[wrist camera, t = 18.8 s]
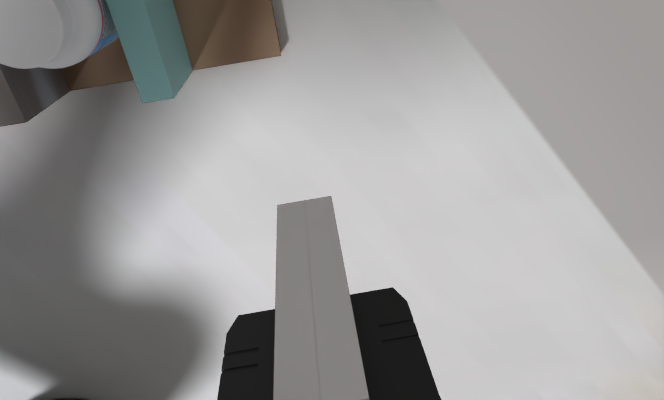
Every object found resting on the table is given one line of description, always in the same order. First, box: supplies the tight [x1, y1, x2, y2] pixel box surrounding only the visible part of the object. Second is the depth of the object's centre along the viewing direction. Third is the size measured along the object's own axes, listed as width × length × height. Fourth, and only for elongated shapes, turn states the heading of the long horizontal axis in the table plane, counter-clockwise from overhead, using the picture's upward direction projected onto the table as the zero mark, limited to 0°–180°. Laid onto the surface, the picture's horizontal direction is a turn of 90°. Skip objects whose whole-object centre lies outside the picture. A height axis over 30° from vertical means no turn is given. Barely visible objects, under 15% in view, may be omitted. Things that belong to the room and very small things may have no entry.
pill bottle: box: [0, 0, 119, 69], centre depth 28 cm, size 6×6×11 cm
